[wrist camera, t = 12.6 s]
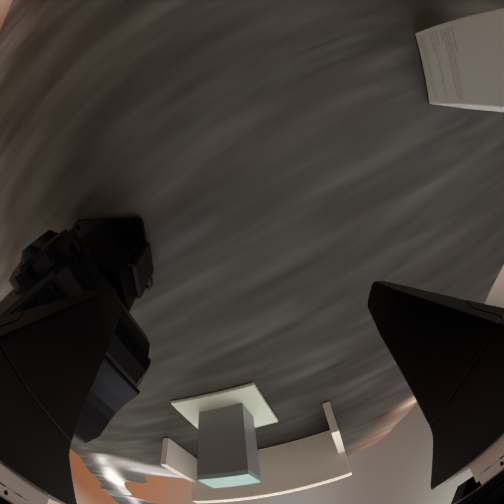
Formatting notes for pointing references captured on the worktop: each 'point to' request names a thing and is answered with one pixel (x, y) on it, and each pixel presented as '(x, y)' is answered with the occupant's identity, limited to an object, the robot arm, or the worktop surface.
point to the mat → (228, 404)
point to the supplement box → (465, 61)
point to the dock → (271, 466)
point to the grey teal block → (227, 447)
